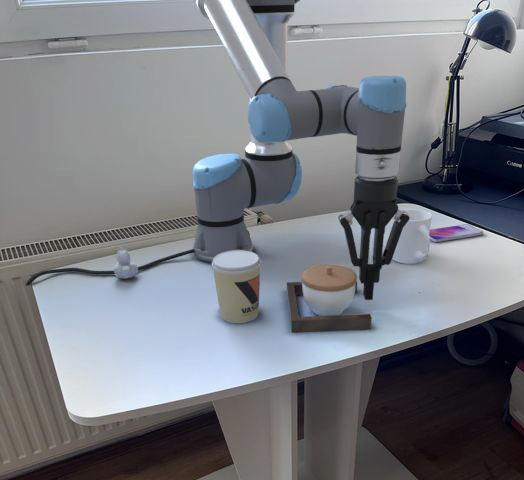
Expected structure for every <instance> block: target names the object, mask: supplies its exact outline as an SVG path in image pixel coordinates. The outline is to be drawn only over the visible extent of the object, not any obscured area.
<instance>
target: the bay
mask: <svg viewBox="0 0 524 480" xmlns="http://www.w3.org/2000/svg"><path fill="white" fill-rule="evenodd" d="M285 283H286V284H285V285H286V298H287V307H288V316H289V323H290V332H291V333H305V332H306V333H307V332H309V333H310V332H332V331H335V332H336V331H357V330H358V331H359V330H360V331H361V330H371V328H372V315H371V314H370V313H361V314H359V313H357V314H340V315H332V316H319V315H314V316H313V315H310V316H299V309H298V304H297V303H298V302H297V297H296V296H303V290H302V281H287V282H285ZM357 293H358V281H357V280H356V286H355V293H354V294H357Z"/></svg>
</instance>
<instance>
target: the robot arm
mask: <svg viewBox="0 0 524 480" xmlns="http://www.w3.org/2000/svg"><path fill="white" fill-rule="evenodd" d="M300 1H301V0H194V3H195V5H196V6H197V8H198V10H199V12H200V13H201V15H202V16H203V17H204V18H206V19H207V20H209V21H210V22H211V24H212V26H213V28H214V30H215V32H216V34H217V36H218V38H219V39H220V42H221V44H222V45H223V47H224V49H225V52H226V53H227V55H228V57H229V59H230V61H231V63H232V65H233V67H234V69H235V71H236V73H237V75H238V77H239V78H240V81H241V83H242V84H243V87H244V89H245V90H246V92H247V94H248V96H249V104H248V107H247V121H248V125H249V132H250V142H249V143H248V144H247V145H246V146H245V148H244V158H241V156H240V154H237V153H233V152H232V153H229V152H228V153H220V154H213V155H210V156H206V157H204V158H203V159H202V158H201V159H200V160H198V162H196V163H195V164H194V165H193V168H192V187H193V193H194V201H195V210H196V219H197V226H196V232H195V237H194V242H193V248H192V249H188V250H184V251H181V252H177V253H175V254H171V255H167V256H165V257H162V258H159V259H156V260H154V261H151V262H149V263H146V264H143V265H140V266H137V267H138V272H139V271H142V270H146V269H148V268H151V267H153V266H156V265H158V264H161V263H163V262H166V261H170V260H174V259H176V258H179V257H183V256H187V255H190V254H193V256H194V257H195V258H196V259H197V260H199V261H200V262H204V263H210V264H212V262H213V259H214V257H215V256H217V255H218V254H220V253H223V252H227V251H233V250H244V251H250V252H253V253H254V245H253V241H252V239H251V234H250V231H249V230H248V229H247V226H246V223H245V215H244V210H247V209H251V208H257V207H263V206H269V205H274V204H275V205H276V204H277V205H278V204H281V203H283V202H287V201H290V200H292V199H294V197H295V196H296V195H297V194H298V192H299V190H300V187H301V184H302V177H303V170H302V166H301V165H300V164H301V161H300V158H299V156H298V155H297V154H296V153H295V152H293V150H294V149H293V146H292V145H291V144H290V143H289V142H288V141H293V140H301V139H307V138H317V137H325V136H332V135H339V134H347V135H352V136H356V147H355V148H356V149H355V150H356V151H355V152H356V153H355V167H354V174H355V175H356V177H355V178H354V187H353V201H352V204H351V205H350V207H349V208H350V209H349V211H348V212H346V213H344V214H339V215H338V221H339V223H340V225H341V227H342V228H343V231H344V235H345V241H346V245H347V250H348V254H349V259H350V263H351V264H352V266H353V267H358V268H359V269H358V270H359V273H358V280H359V282H360V284H363V287H362V288H363V289H362V296H363V299H364V300H365V301H373V300H374V290H375V289H374V288H375V284H376V283H377V284H378V283H379V282H380V276H381V270H382V268H383V266H387V265H388V266H389V265H390V264H392V261H393V259H392V258H393V255H394V252H395V249H396V246H397V243H398V241H399V238H400V235H401V232H402V229H403V227H404V226H405V225H406V223H407V222H408V221H409V219H410V218H409V216H408V215H407V214H406V212H402V211H400V210H401V209H399V205H398V203H397V197H398V187H399V186H398V185H399V178H398V177H397V176H398V174H399V173H400V163H401V153H402V152H401V151H402V144H403V134H404V133H403V132H404V123H405V114H406V108H407V81H406V79H405V78H404V77H402V76H399V75H372V76H366V77H364V78H362V79H361V80H360V83H359V87H356V86H355V87H353V86H348V85H345V84H341V85H340V84H339V85H329V86H327V87H325V88H322V89H309V90H297V89H296V87H295V86H294V84H293V83H292V80H291V79H290V77H289V76H288V24H289V21H290V20H291V19H292V17H293V16H294V15H295V5H296V4H297V3H299V2H300ZM394 215H395V217H394ZM393 217H394V223H393V222H392V226H391V229H390V232H389V234H388V238H387V241H386V243H385V247H384V239H385V234H386V226H387V225H388V224H389V223H390V222H391V220H393ZM353 218H354V219H355V220H356V222H357V224H358V225H359V226H360V244H359V245H360V248H359V257H358V253H357V248H356V242H355V237H354V233H353V230H352V229H353V228H352V225H353ZM372 229H373V230H374V235H373V249H372V260H371V261H372V263H369V255H370V244H371V243H370V242H371V235H372V234H371V233H372ZM383 248H384V249H383ZM67 272H68V273H69V272H75V273H76V272H77V273H83V274H88V275H97V276H98V275H101V276H102V275H115V273H114V270H92V269H85V268H80V267H63V268H54V269H45V270H42V271H39V272H37V273H35V274H34V275H32V276H31V277H30V278H29V279H28V280H27V281H26V283H25V286H26V287H28V286H31V284H32V283H33V282H34V281H35V280H36V279H38V278H40V277H42V276H45V275H49V274H58V273H67Z"/></svg>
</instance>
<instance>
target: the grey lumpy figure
mask: <svg viewBox="0 0 524 480" xmlns="http://www.w3.org/2000/svg"><path fill="white" fill-rule="evenodd" d="M115 256H116V261H117V262H116V264H115V265H114V266H113V271H114V273H115V274H114V276H116V277H117V278H119V279H125V280H126V279H131V278H133V277H135V276H136V275H137V274H138V272H139V271H138V267H139V266H138V265H137V263H136V262H135V261H133V260H131V254H130V252H129V251H128V250H127V248H123V246H122V245H120V249H118V250H117V253H116V255H115Z"/></svg>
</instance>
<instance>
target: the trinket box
mask: <svg viewBox="0 0 524 480" xmlns="http://www.w3.org/2000/svg"><path fill="white" fill-rule="evenodd" d="M357 280H358V275H357V272H356V271H354V270H353V269H351V268H350V267H348V266H346V265H345V266H344V265H342V264H341V265H340V264H331V263H327V264H326V263H325V264H318V265H313V266H310V267H308V268H306V269H305V270H303V272H302V273H301V282H302V290H303V295H302V296H303V299H304V301H305V303H306V305H307V307H308V308H309V309H311V310H312V312H313V314H315V315H316V316H332V315H342V313H343V311H345V310H347V309H348V308H349V307H350V305H351V304H352V302H353V299H354V297H355V294H356V293H355V286H356V281H357Z"/></svg>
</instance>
